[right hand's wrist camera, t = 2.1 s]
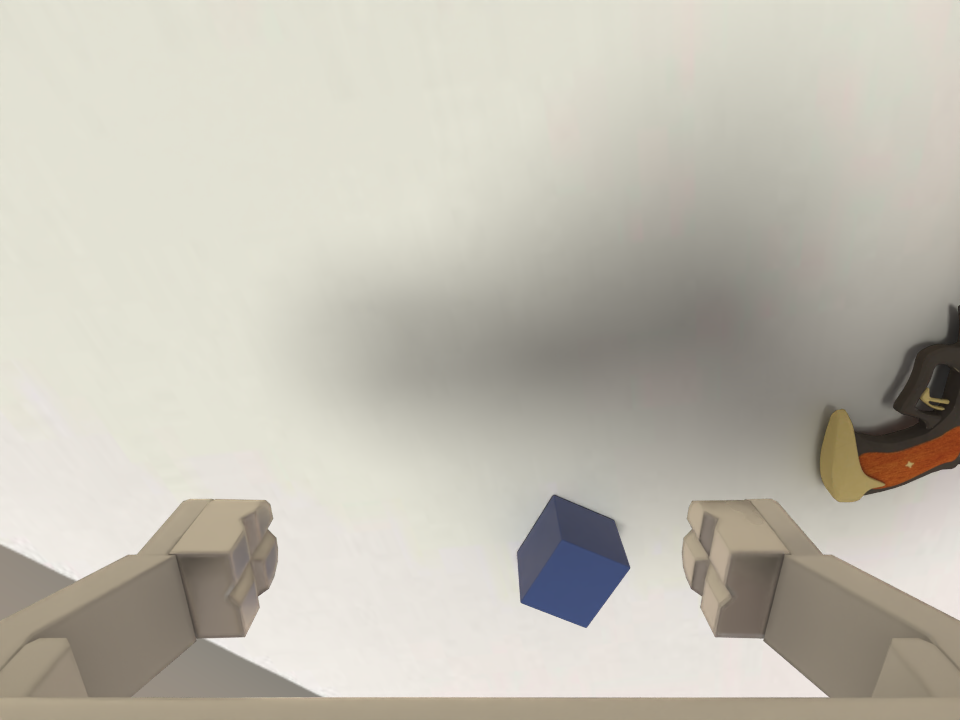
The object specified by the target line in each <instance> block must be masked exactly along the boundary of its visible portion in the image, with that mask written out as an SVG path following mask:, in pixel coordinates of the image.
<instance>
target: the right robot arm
mask: <svg viewBox="0 0 960 720" xmlns="http://www.w3.org/2000/svg"><path fill="white" fill-rule="evenodd" d="M272 520H273V515H272V510H271V505H270V504H269V503H268V502H267V501H266V500H238V499H215V500H214V499H189V500H186V501H183V502H182V503H181V504H180V505H179V507H178V508H177V509H176V510H175V511H174V512H173V513H172V515H171V516H170V517H169V518H168V519H167V520H166V522H165V523H164V524H163V525H162V526H161V527H160V528H159V530H158V531H157V532H156V533H155V534H154V535H153V537H152V538H151V539H150V540H149V541H148V542H147V543H146V545H145V546H144V547H143V548H142V549H141V550H140V552H139V553H138V554H137V555H127V556H125V557H123V558H121V559H119V560H117V561H115V562H113V563H111V564H109V565H107V566H105V567H104V568H102V569H100V570H98V571H96V572H94V573H92V574H90V575H88V576H86V577H84V578H82V579H80V580H78V581H76V582H74V583H73V584H70V585H69V586H67V587H65V588H63V589H61V590H59V591H57V592H55V593H53V594H51V595H49V596H47V597H45V598H43V599H41V600H39V601H37V602H36V603H34V604H32V605H30V606H28V607H26V608H24V609H22V610H20V611H18V612H16V613H14V614H12V615H10V616H8V617H6V618H4V619H2V620H1V621H0V720H960V621H959V620H957V619H955V618H953V617H951V616H949V615H948V614H946V613H944V612H942V611H940V610H938V609H936V608H934V607H932V606H930V605H928V604H926V603H924V602H922V601H920V600H918V599H917V598H915V597H913V596H911V595H909V594H907V593H905V592H903V591H901V590H899V589H897V588H895V587H893V586H891V585H889V584H887V583H885V582H884V581H882V580H880V579H878V578H876V577H874V576H872V575H870V574H868V573H866V572H864V571H862V570H860V569H858V568H856V567H854V566H853V565H851V564H849V563H847V562H845V561H843V560H841V559H839V558H837V557H835V556H833V555H823V554H822V553H821V552H820V550H819V549H818V548H817V547H816V546H815V545H814V543H813V542H812V541H811V540H810V539H809V538H808V537H807V535H806V534H805V533H804V532H803V531H802V530H801V528H800V527H799V526H798V525H797V524H796V523H795V522H794V520H793V519H792V518H791V517H790V516H789V515H788V514H787V512H786V511H785V510H784V509H783V508H782V507H781V505H780V504H779V503H778V502H777V501H775V500H773V499H745V500H710V501H692V502H691V504H690V506H689V509H688V515H687V520H688V522H689V524H690V525H691V527H692V530H691V531H690V532H689V533H688V534H687V535H686V536H685V537H684V539H683V547H682V560H683V568H684V572H685V575H686V579H687V581H688V583H689V585H690V587H691V589H692V590H694V591H695V592H697V593H698V594H699V595H701V596H702V600H701V606H700V608H701V610H702V612H703V614H704V616H705V618H706V620H707V622H708V624H709V626H710V628H711V630H712V632H713V634H714V636H715V637H729V638H764V640H763V641H764V642H765V643H767V644H768V645H769V646H770V647H771V648H772V649H774V650H775V651H776V652H777V653H778V654H779V655H781V656H782V657H783V658H784V659H785V660H786V661H788V662H789V663H790V664H791V665H792V666H793V667H795V668H796V669H797V670H798V671H799V672H800V673H802V674H803V675H804V676H805V677H806V678H807V679H809V680H810V681H811V682H812V683H813V684H814V685H816V686H817V687H818V688H819V689H820V690H822V691H823V692H824V693H825V694H826V695H827V696H829V697H830V698H557V697H278V698H277V697H274V698H272V697H271V698H269V697H267V698H266V697H262V698H182V697H180V698H177V697H132V696H133V695H134V694H135V693H136V692H137V691H139V690H140V689H141V688H142V687H143V686H144V685H146V684H147V683H148V682H149V681H150V680H151V679H153V678H154V677H155V676H156V675H157V674H159V673H160V672H161V671H162V670H163V669H164V668H166V667H167V666H168V665H169V664H170V663H171V662H173V661H174V660H175V659H176V658H177V657H178V656H180V655H181V654H182V653H183V652H184V651H185V650H187V649H188V648H189V647H190V646H191V645H192V644H194V643H195V642H196V638H229V637H245V636H246V634H247V632H248V630H249V628H250V626H251V624H252V622H253V620H254V618H255V616H256V614H257V612H258V610H259V608H260V606H259V600H258V596H259V595H261V594H262V593H263V592H265V591H266V590H268V589H269V587H270V585H271V583H272V581H273V578H274V576H275V571H276V567H277V562H278V546H277V539H276V537H275V536H274V535H273V534H272V533H271V532H270V531H269V530H268V527H269V525H270V524H271V522H272Z"/></svg>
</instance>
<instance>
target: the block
mask: <svg viewBox="0 0 960 720" xmlns="http://www.w3.org/2000/svg"><path fill="white" fill-rule="evenodd" d="M517 559H518V573H519V587H520V601H521V603H522V604H525V605H528V606H530V607H533V608H535V609H538V610H540V611H543V612H546V613H548V614H551V615H553V616H556V617H559V618H561V619H564V620H566V621H569V622H572V623H574V624H577V625H579V626H582V627H585V628H587V627H588V625H589V624H590V622H591V621H592V620H593V618H594V617H595V616H596V614H597V613H598V612H599V610H600V609H601V607H602V606H603V605H604V603H605V602H606V601H607V599H608V598H609V597H610V595H611V594H612V592H613V591H614V590H615V588H616V587H617V586H618V584H619V583H620V582H621V580H622V579H623V577H624V576H625V575H626V573H627V572H628V571H629V569H630V565H629V562H628V559H627V556H626V553H625V550H624V548H623V545H622V542H621V539H620V536H619V533H618V530H617V527H616V524H615V521H614V520H612V519H610V518H607V517H605V516H602V515H600V514H598V513H595V512H593V511H591V510H588V509H586V508H583V507H581V506H579V505H576V504H574V503H572V502H569V501H567V500H564V499H562V498H560V497H557V496H555V495H553V496H552V498H551V500H550V501H549V503H548V504H547V506H546V508H545V509H544V511H543V512H542V514H541V516H540V517H539V519H538V520H537V522H536V524H535V525H534V527H533V528H532V530H531V532H530V533H529V535H528V536H527V538H526V539H525V541H524V543H523V544H522V546H521V547H520V549H519V551H518V552H517Z"/></svg>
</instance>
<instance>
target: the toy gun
mask: <svg viewBox="0 0 960 720" xmlns="http://www.w3.org/2000/svg"><path fill="white" fill-rule="evenodd" d="M958 314H959V334H958V341H957V343H955V344H952V345H946V344H936V345H932V346H929V347H927V348H925V349H923V350H921V351H920V352H919V353H918V354H917V356H916V359H915V363H914V367H913V370H912V373H911V376H910V378H909V380H908V382H907V384H906V386H905V388H904V389H903V391H902V392H901V394H900V395H899V397H898V398H897V400H896V401H895V403H894V405H893V408H894V409H895V410H896V411H898V412H900V413H901V414H904V415H909V416H913V417H917V418H919V423H918V424H916V425H915V426H912V427H910V428H907V429H904V430H901V431H897V432H894V433H890V434H886V435H882V436H873V435H866V434H861V433H857V432H854V429H853V425H852V422H851V420H850V418H849V416H848V414H847V412H846V411H845V410H844V409H840V410H836V411H835V412H834V413H833V414H832V415H831V417H830V420H829V423H828V426H827V429H826V433H825V437H824V441H823V444H822V448H821V455H820V474H821V477H822V481H823V483H824V485H825V487H826V489H827V490H828V491H829V493H830V494H831V495H832V496H833V498H834V499H836V500H837V501H838V502H855V501H857V500H860V498H861V497H862V496H863V495H868V494H872V493H877V492H882V491H885V490H889V489H893V488H896V487H899V486H902V485H905V484H907V483H909V482H912V481H914V480H916V479H919V478H921V477H923V476H925V475H928V474H930V473H932V472H936V471H939V470H942V469H952V468H955V467H956V466H957V465H958V464H960V305H959V306H958ZM938 364H946V365H947V366H948V367H949V368H950V372H949V375H948V379H947V383H946V386H945V390H944V393H943V397H942V399H939V398H931V397H930V395H929V388H927V385H928V383H929V381H930V379H931V376H932V373H933V370H934V368H935V367H936V366H937V365H938ZM919 399H920V400H921V401H923V402H924V403H925V404H927V405H928V406H930V407H932V408H934V410H933V411H932V412H930V411H920V410H917V409H916V408H915V406H916V404H917V402H918V400H919ZM929 401H933V402H938V403H939V405H938V406H935V405H931V404H929Z"/></svg>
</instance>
